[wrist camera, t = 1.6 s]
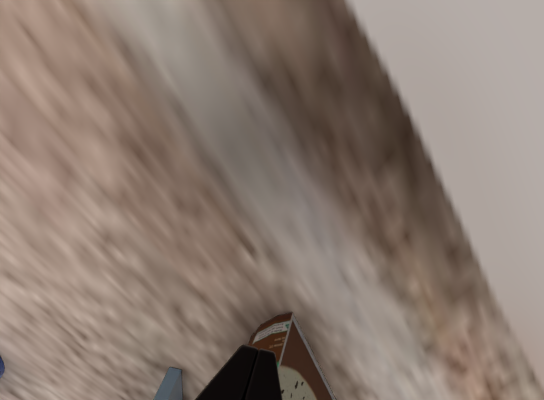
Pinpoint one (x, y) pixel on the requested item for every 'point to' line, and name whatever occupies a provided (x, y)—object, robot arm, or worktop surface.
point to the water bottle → (1, 367)
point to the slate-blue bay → (171, 386)
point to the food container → (292, 359)
